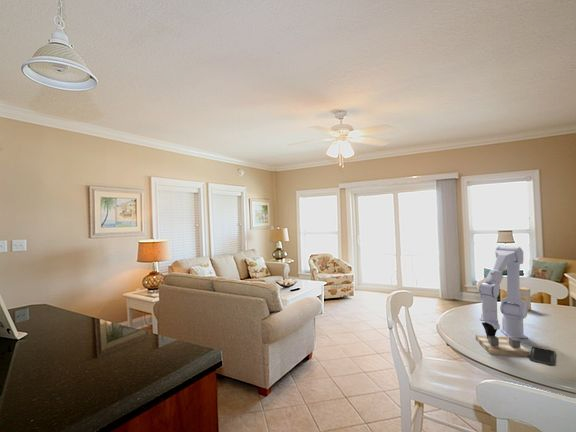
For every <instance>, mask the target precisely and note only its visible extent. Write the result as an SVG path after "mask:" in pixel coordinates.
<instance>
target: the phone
mask: <svg viewBox="0 0 576 432" xmlns="http://www.w3.org/2000/svg"><path fill="white" fill-rule="evenodd" d="M529 352H530V356H528V358H529V360H530V362H535V363H538V364H543V365H547V366H551V365H554V366H555V363H556V362H555V361H556V360H555V359H556V352H555V351H554V350H553V349H552V350H551V349H546V348H541V347H538V346H531V349H530V351H529Z"/></svg>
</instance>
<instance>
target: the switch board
mask: <svg viewBox="0 0 576 432" xmlns="http://www.w3.org/2000/svg"><path fill="white" fill-rule="evenodd" d="M495 336H496V337H497V338H498V339H499V346H498V345H491V344H489V343H488V338H487V335H481V334H480V335H479V334H476V335H475V341H477V342H478V344H480V346H481V347H483V348H484V350H486V351H487V353H488V354H490V355H499V356H516V357H517V356H519V357H530V352H531V351H529V350H528V349H527V348H525V347H524V346H523V345H522V344H521V343H520V347H512V346H511V345H510V344H509V337H508V336H503V335H502V336H501V335H498V336H497V335H495Z"/></svg>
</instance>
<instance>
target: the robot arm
mask: <svg viewBox="0 0 576 432" xmlns="http://www.w3.org/2000/svg"><path fill="white" fill-rule="evenodd" d="M495 258H496V259H495V262H494V266H493V268H492V269H490V270H489V272H488V274H487V276H486V278H485V279H484V282H482V283H480V284H479V285H478V286H479V287H478V293H479V295H480V296H479V298H480V299H481V311H482V312H481V313H482V314H481V318H479V321H481V325H482V326H483V329H484V332H485V334H486V335H485V336H487V338H488V336H496V333H497V331H498V330H500V332H502V333H503V334H504V335H506V337H512V338H518V339H528V336H527V335H525V334H524V319H525V318H527V316H528V312H529V310H528V311H527V306H526V302H524V301H523V300H522V299H521V298H520V297H519V287H520V269H521V268H520V265H521V264H524V250H523V249H522V248H521V247H520V246H518V247H517V246H501V245H498V246H497V247H496V248H495ZM506 267H507V269H506ZM505 269H506V270H507V272H506V274H507V275H506V281H507V282H506V283H507V284H506V296H505V297H504V298H502V299H501V301H500V305H499V306H500V307H499V310H500V313H501V314H502V318H501V319H502V320H501V321H502V322H501V323H502V329H501V328H500V327H501V325H500V323H499V320H498V299H497V298H498V297H499V295H500V289H501V286H500V285H501V283H502V280H503V278H504V275H503V272H504V270H505ZM513 303H514V304H513Z"/></svg>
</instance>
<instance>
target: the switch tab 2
mask: <svg viewBox="0 0 576 432" xmlns="http://www.w3.org/2000/svg"><path fill="white" fill-rule="evenodd" d="M509 344H510V345H511V346H512V347H520V344H521V340H520V338H512V337H509Z"/></svg>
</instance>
